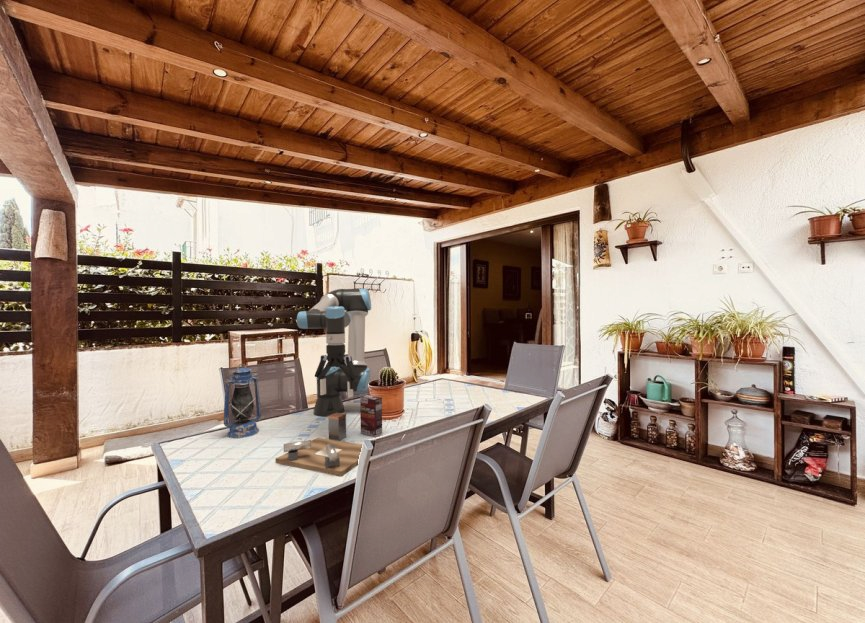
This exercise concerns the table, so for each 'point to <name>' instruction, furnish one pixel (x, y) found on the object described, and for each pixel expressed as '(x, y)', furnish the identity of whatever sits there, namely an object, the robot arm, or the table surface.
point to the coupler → (337, 426)
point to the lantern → (242, 404)
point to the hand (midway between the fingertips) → (336, 395)
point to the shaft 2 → (331, 457)
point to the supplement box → (371, 415)
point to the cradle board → (317, 454)
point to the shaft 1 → (296, 448)
